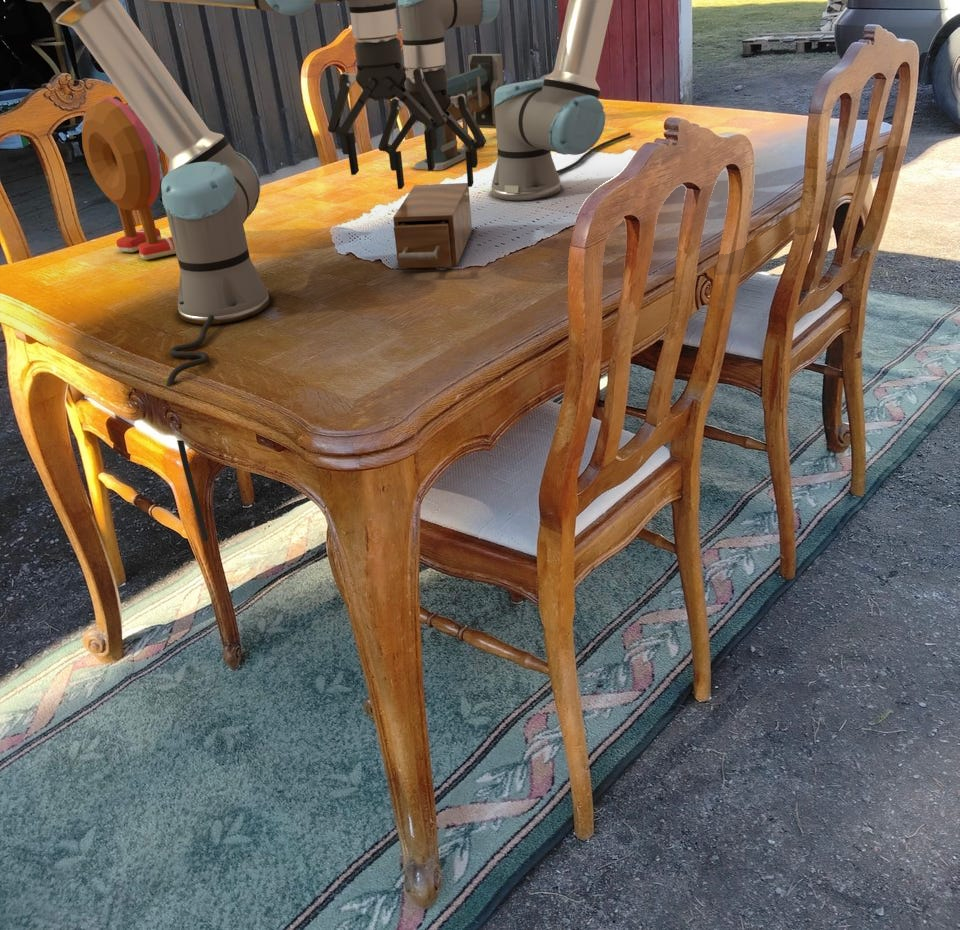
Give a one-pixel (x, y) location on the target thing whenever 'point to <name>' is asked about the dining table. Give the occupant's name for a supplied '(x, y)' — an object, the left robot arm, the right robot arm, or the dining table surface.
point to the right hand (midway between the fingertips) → (435, 186)
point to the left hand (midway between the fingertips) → (393, 171)
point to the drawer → (423, 244)
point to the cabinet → (440, 211)
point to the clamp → (469, 106)
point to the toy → (125, 172)
